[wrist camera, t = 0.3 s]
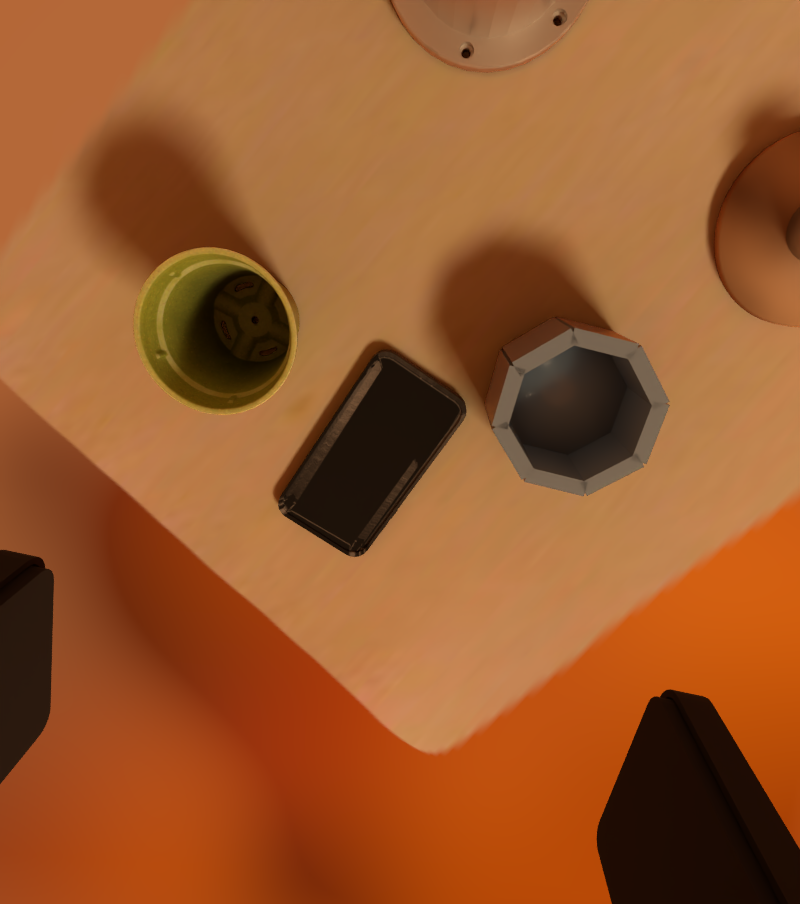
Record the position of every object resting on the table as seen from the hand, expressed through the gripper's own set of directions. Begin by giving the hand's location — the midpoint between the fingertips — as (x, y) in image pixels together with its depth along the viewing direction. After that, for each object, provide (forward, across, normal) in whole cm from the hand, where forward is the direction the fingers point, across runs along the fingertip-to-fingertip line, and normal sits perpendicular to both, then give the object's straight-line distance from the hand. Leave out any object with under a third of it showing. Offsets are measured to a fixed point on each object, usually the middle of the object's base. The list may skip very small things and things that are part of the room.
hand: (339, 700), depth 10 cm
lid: (+36, -23, -12) cm, 45 cm away
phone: (+36, +2, +9) cm, 37 cm away
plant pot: (+36, +11, 0) cm, 38 cm away
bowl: (+36, -11, +1) cm, 37 cm away
